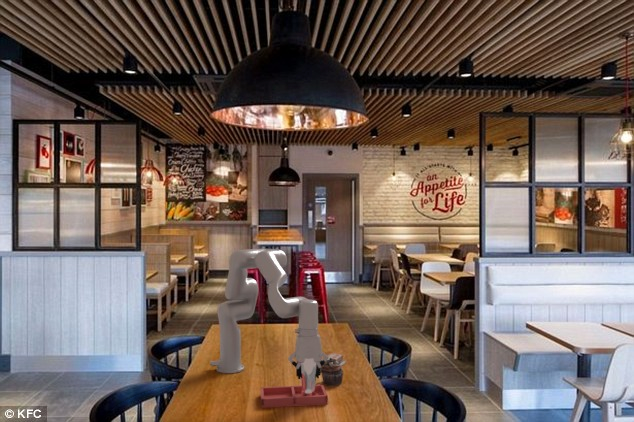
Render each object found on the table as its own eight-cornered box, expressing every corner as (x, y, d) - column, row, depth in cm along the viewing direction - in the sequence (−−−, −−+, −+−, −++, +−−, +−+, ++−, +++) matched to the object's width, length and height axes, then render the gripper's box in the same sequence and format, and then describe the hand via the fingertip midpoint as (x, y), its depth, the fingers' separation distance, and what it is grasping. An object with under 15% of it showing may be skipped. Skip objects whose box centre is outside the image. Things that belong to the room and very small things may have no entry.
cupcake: (336, 387, 217) (336, 363, 217) (316, 383, 222) (316, 360, 222) (347, 381, 225) (347, 358, 225) (328, 377, 230) (328, 354, 230)
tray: (261, 407, 195) (261, 399, 195) (260, 395, 208) (260, 387, 208) (327, 404, 198) (327, 396, 198) (323, 392, 211) (323, 384, 211)
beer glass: (304, 398, 199) (304, 359, 199) (296, 393, 206) (296, 355, 205) (320, 395, 203) (320, 357, 202) (312, 390, 209) (312, 352, 209)
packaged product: (327, 351, 256) (346, 353, 252) (327, 361, 256) (346, 363, 252) (312, 361, 240) (332, 363, 236) (312, 371, 240) (332, 374, 236)
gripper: (286, 334, 199) (286, 381, 199) (331, 333, 201) (331, 380, 201) (285, 330, 207) (285, 375, 207) (329, 329, 209) (328, 373, 209)
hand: (308, 377), depth 204 cm, fingers closed on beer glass, 6 cm apart
